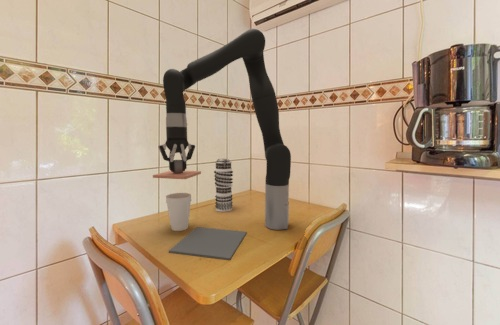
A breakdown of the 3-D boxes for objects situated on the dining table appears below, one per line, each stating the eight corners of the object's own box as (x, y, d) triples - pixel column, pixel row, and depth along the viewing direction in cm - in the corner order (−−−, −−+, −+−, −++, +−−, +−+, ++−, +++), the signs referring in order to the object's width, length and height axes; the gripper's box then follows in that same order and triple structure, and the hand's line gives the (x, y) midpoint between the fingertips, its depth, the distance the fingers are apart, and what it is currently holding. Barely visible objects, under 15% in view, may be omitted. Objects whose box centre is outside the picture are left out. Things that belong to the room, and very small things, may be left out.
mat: (246, 233, 89) (246, 231, 89) (230, 260, 70) (230, 258, 70) (197, 228, 94) (197, 226, 93) (168, 252, 74) (168, 250, 74)
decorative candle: (225, 213, 112) (225, 160, 109) (210, 210, 117) (209, 159, 114) (236, 208, 120) (236, 158, 117) (222, 205, 125) (221, 157, 122)
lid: (201, 173, 97) (200, 159, 96) (185, 179, 84) (184, 162, 83) (172, 172, 100) (171, 158, 99) (152, 177, 87) (152, 161, 86)
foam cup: (196, 224, 97) (195, 193, 96) (184, 233, 88) (183, 199, 87) (175, 222, 100) (174, 192, 98) (162, 230, 91) (160, 197, 90)
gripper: (191, 126, 97) (192, 168, 99) (154, 125, 89) (156, 171, 91) (198, 126, 90) (199, 171, 92) (158, 125, 83) (160, 174, 85)
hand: (178, 171), depth 92 cm, fingers closed on lid, 3 cm apart
